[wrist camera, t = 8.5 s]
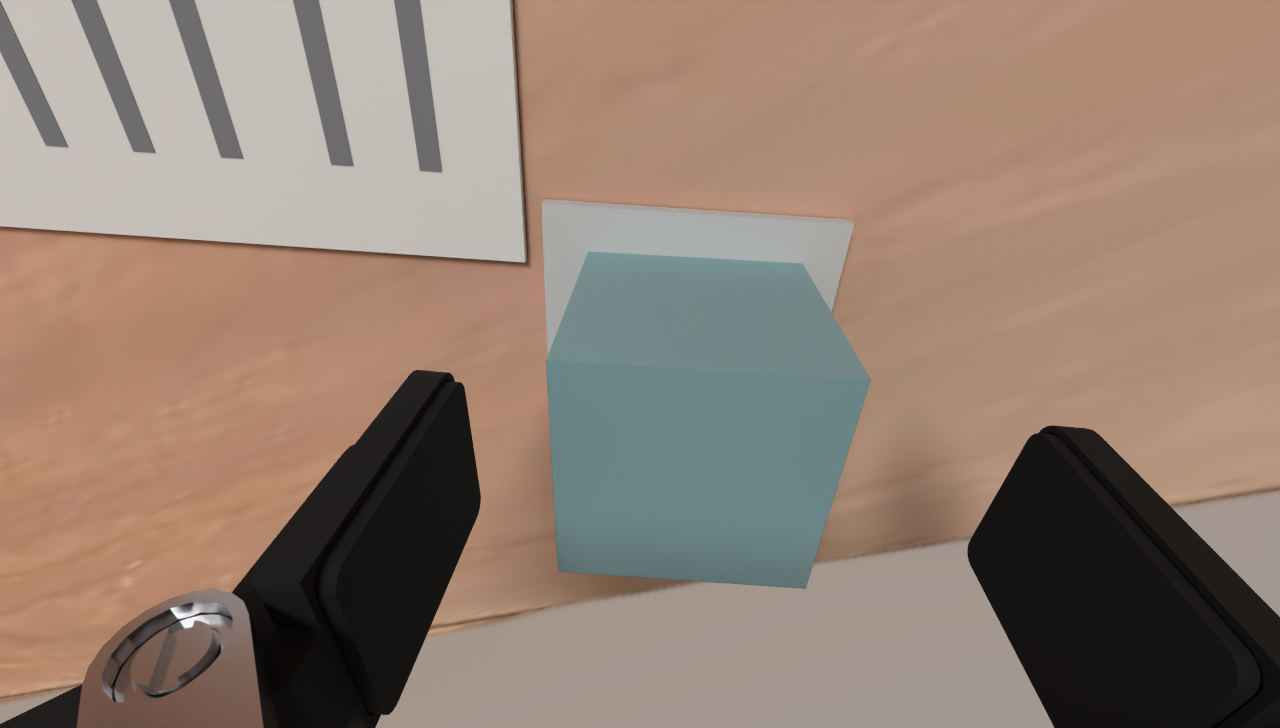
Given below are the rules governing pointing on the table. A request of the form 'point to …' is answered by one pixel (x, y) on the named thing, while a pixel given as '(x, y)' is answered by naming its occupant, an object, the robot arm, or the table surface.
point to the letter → (266, 122)
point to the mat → (683, 242)
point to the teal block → (698, 419)
